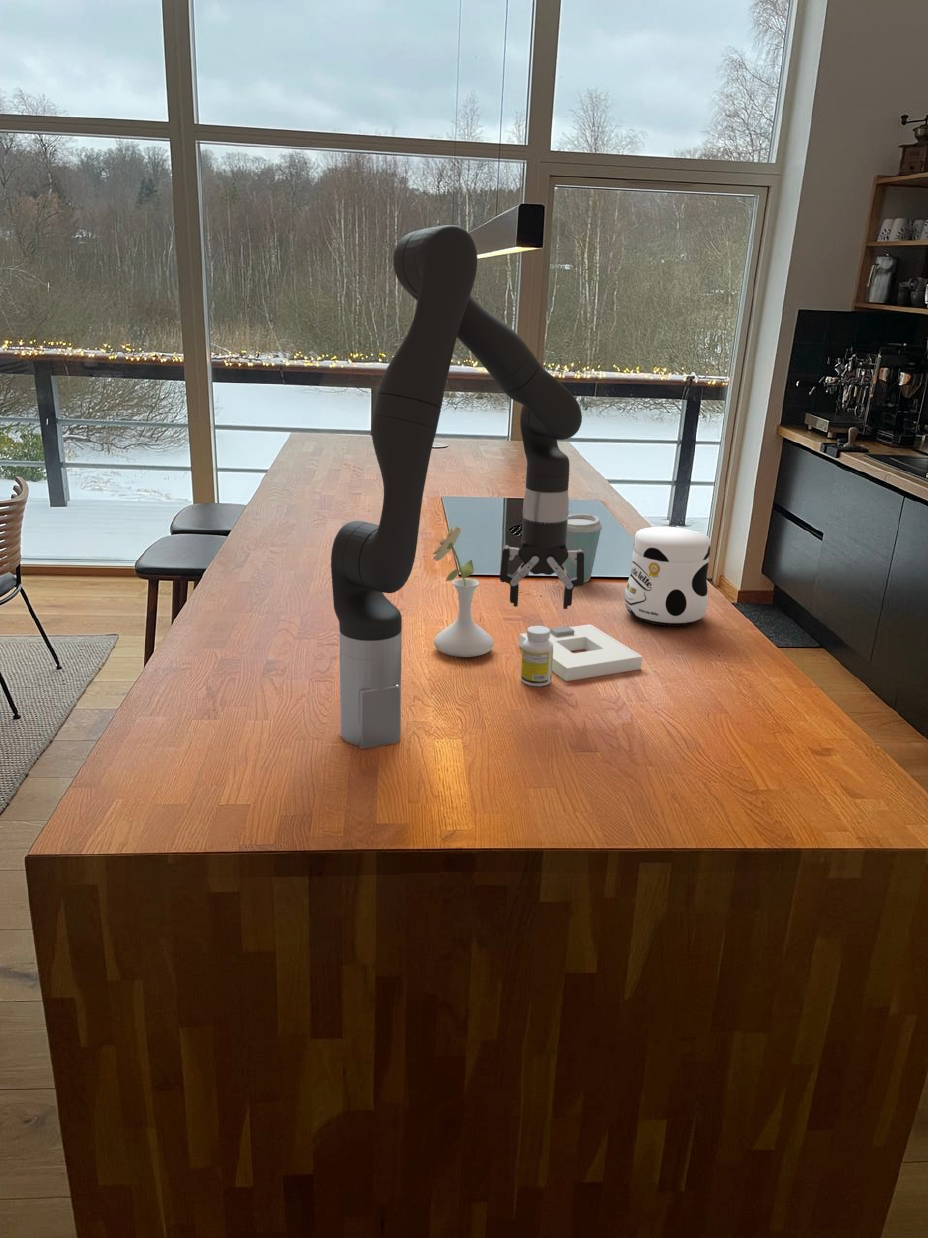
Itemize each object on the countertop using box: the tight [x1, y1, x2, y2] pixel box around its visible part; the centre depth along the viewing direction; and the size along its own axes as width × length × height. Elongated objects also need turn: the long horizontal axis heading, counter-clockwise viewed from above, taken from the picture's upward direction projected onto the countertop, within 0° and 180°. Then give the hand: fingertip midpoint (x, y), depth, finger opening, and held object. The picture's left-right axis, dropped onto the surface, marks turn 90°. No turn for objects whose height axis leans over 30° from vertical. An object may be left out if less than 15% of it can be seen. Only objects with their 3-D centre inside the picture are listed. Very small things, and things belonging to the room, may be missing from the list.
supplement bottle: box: [520, 625, 553, 687], centre depth 166 cm, size 5×5×10 cm
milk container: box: [624, 526, 711, 627], centre depth 199 cm, size 17×17×18 cm
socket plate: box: [518, 623, 643, 682], centre depth 178 cm, size 18×16×3 cm
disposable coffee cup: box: [562, 513, 603, 583], centre depth 223 cm, size 11×11×15 cm
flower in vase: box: [432, 525, 495, 658], centre depth 175 cm, size 13×11×25 cm
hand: (540, 606), depth 163 cm, fingers open, 8 cm apart
